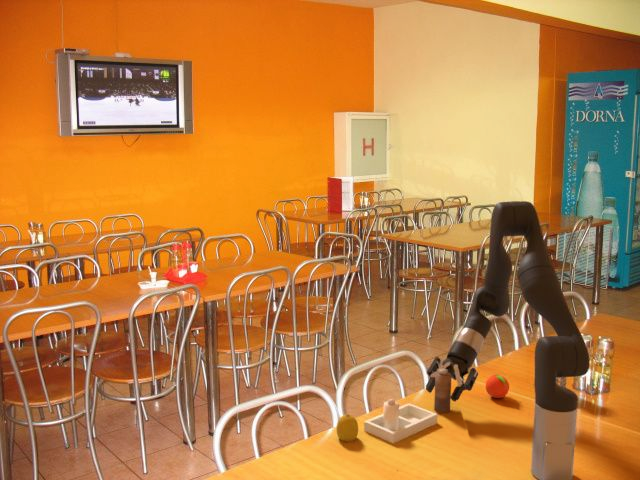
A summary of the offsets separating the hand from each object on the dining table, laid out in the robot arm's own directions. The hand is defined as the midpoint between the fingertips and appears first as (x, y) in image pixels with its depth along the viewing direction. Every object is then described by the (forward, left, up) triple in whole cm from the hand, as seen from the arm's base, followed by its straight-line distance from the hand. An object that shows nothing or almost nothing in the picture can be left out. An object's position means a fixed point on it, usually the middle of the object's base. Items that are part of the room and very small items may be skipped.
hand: (440, 395), depth 192 cm
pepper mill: (+1, -1, -6) cm, 6 cm away
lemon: (-19, +25, -6) cm, 32 cm away
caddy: (-11, +11, -6) cm, 17 cm away
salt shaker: (-14, +14, -5) cm, 21 cm away
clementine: (+15, -19, -6) cm, 25 cm away
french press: (+21, -37, -6) cm, 43 cm away
